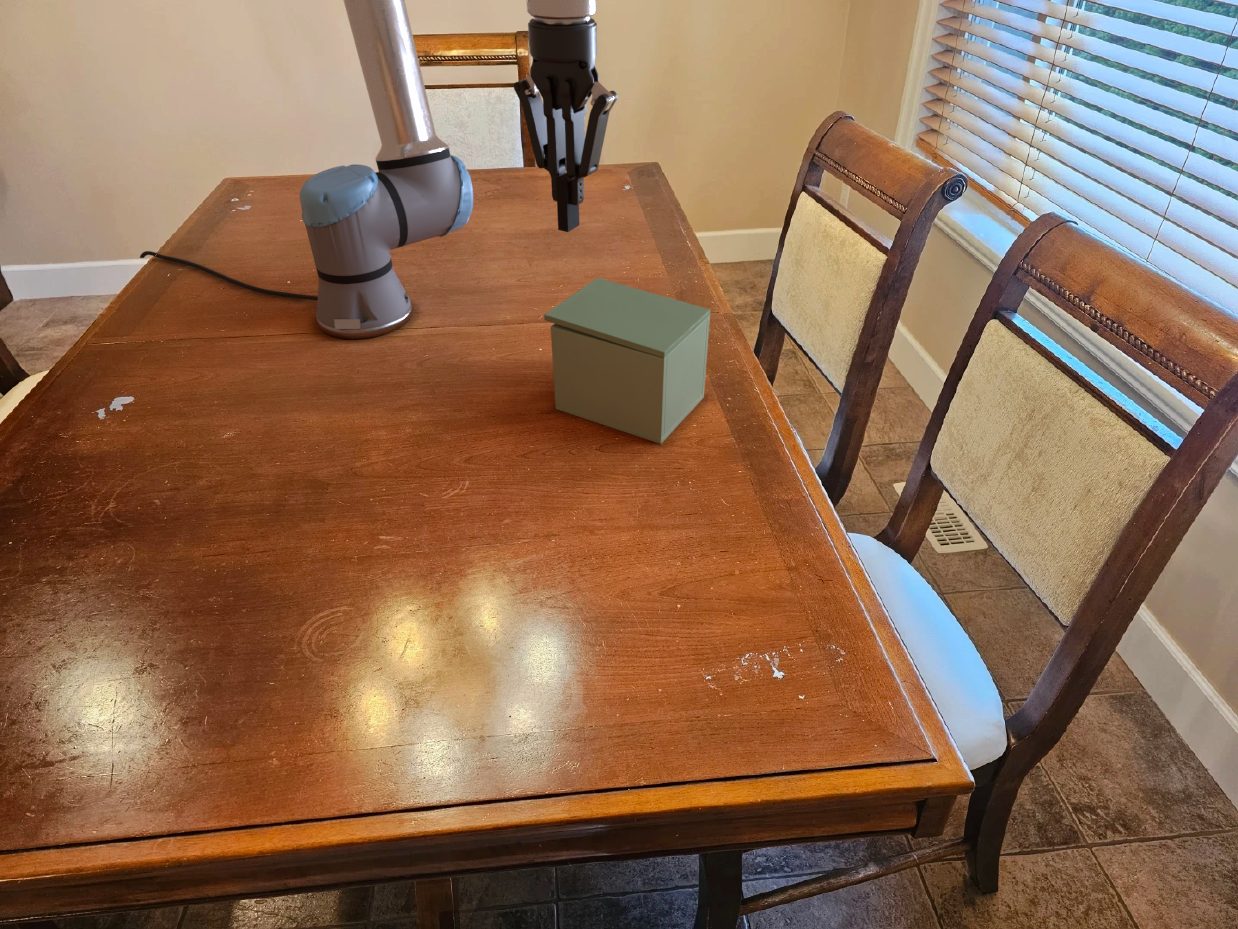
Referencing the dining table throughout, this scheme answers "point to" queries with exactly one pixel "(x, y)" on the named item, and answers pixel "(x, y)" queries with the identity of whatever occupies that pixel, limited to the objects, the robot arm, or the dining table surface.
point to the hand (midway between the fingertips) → (568, 227)
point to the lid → (628, 316)
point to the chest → (628, 381)
